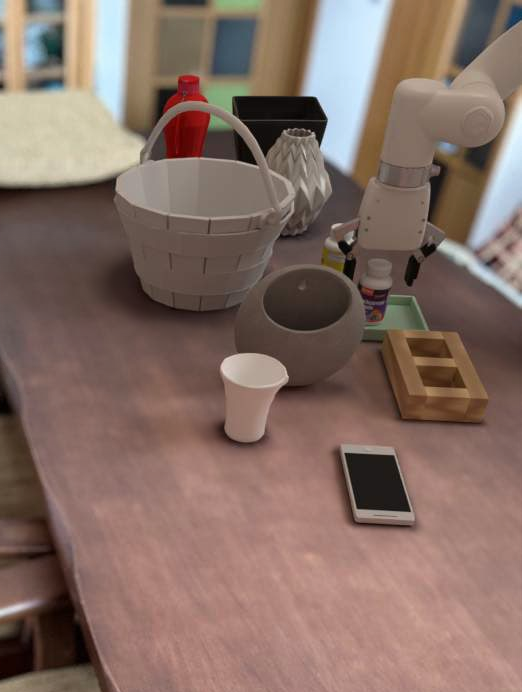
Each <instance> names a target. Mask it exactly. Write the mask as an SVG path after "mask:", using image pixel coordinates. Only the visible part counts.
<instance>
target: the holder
mask: <svg viewBox="0 0 522 692" xmlns="http://www.w3.org/2000/svg"><path fill="white" fill-rule="evenodd" d="M380 353H381V357H382V360H383V363H384V366H385V369H386V372H387V375H388V378H389V382H390V384H391V387H392V390H393V394H394V397H395V400H396V403H397V406H398V409H399V412H400V415H401V418H402V419H403V420H421V421H440V422H459V423H478V424H479V423H482V420H483V417H484V414H485V412H486V409H487V407H488V404H489V400H490V397H489V395H488V393H487V391H486V389H485V387H484V385H483V383H482V381H481V378H480V377H479V375H478V372H477V371H476V368H475V366H474V364H473V362H472V361H471V358H470V356H469V353H468V352H467V350H466V347H465V346H464V344H463V342H462V339H461V338H460V335H459V334H458V332H456V331H440V330H439V331H438V330H437V331H435V330H429V331H418V330H397V329H386V332H385V336H384V340H383V341H382V345H381V348H380Z"/></svg>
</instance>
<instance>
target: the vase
mask: <svg viewBox="0 0 522 692" xmlns="http://www.w3.org/2000/svg"><path fill="white" fill-rule="evenodd" d="M265 160H266V163H267V166H268V169H270V170H272V171H274V172H276V173H277V174H279V175H281V176H283V177H284V178H286V179H288V180H290V181H291V183H292V186H293V188H294V191H295V193H296V196H295V198H294V213H293V214H292V216H291V217H290V219H289V220H288V222H287V223H286V225H285V226H284V228H283V229H282V231H281V233H280V236H281V235H282V236H283V237H284V236H293V237H294V236H296V235H302V234H303V233H304V232H306V231H307V229H308V226H309V225H311V224H313V222H314V221H315V219H316V218H317V217H318V215H320V213H321V211H322V209H323V207H324V205H325V204H326V202H327V201H328V199H329V198H330V197H331V195H332V194H333V188H332V183H331V180H330V176H329V173H328V171H327V170H326V168H325V161H324V155H323V152H322V150H321V148H320V149H319V146H318V141H317V140H316V139H315V133H314V132H310V130H304V129H297V128H294V129H288V130H283V132H282V134H281V137H280V138H278V139H277V141H276V143H275V145H274V146H273V147H272V148H271V149H270V150H269V151H268V154H267V156H266V158H265Z"/></svg>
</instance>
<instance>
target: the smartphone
mask: <svg viewBox="0 0 522 692" xmlns="http://www.w3.org/2000/svg"><path fill="white" fill-rule="evenodd" d="M339 455H340V459H341V464H342V469H343V473H344V477H345V483H346V487H347V492H348V496H349V501H350V505H351V510H352V514H353V518H354V521H355V522H356V523H364V524H379V525H380V524H381V525H398V526H414V523H415V520H416V517H415V513H414V509H413V506H412V504H411V500H410V496H409V494H408V491H407V487H406V484H405V481H404V478H403V477H404V476H403V474H402V470H401V467H400V464H399V461H398V457H397V454H396V450H395V448H394V447H393V446H387V445H386V446H385V445H369V444H367V445H366V444H349V443H348V444H347V443H341V444H340V447H339Z"/></svg>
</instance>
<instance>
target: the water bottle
mask: <svg viewBox="0 0 522 692" xmlns="http://www.w3.org/2000/svg"><path fill="white" fill-rule="evenodd" d="M200 78H201V77H200V76H197V75H193V74H183V75H180V76H179V75H178V77H177V90H176V93H174V94H173V95H171V96H170V97H169V99H167V101H166V103H165V105H164V108H163V111H162V116H163V115H164V114H165V113H166V112H167V111H168V110H169V109H170V108H172V107H174V106H175V105H177V104H179V103H182V102H187V101H201V102H205V103H209V104H210V102H209V100H208V99H207V98H206V97H205V95H203V94H202V93H200V81H201V80H200ZM211 116H212V114H209V113H206V112H202V111H193V110H188V111H185V112H182V113H179V114H178V115H176V116H175V117H173V118H172V119H171V120H170V121H169V122H168V123H167V124H166V125H165V126H164V128H163V129H162V131H163V136H164V141H165V159H177V158H195V157H198V158H199V159H200V157H202V158H203V152H204V145H205V142H206V138H207V133H208V129H209V126H210V122H211V119H212V117H211Z"/></svg>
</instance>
